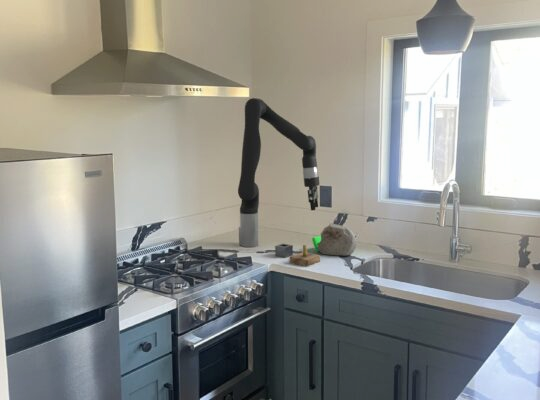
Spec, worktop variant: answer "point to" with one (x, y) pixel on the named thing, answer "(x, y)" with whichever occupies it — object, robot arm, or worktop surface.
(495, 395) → the worktop surface
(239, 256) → the worktop surface
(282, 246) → the link
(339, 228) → the stone
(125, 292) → the worktop surface
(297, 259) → the keeper
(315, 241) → the bracket
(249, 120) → the robot arm
